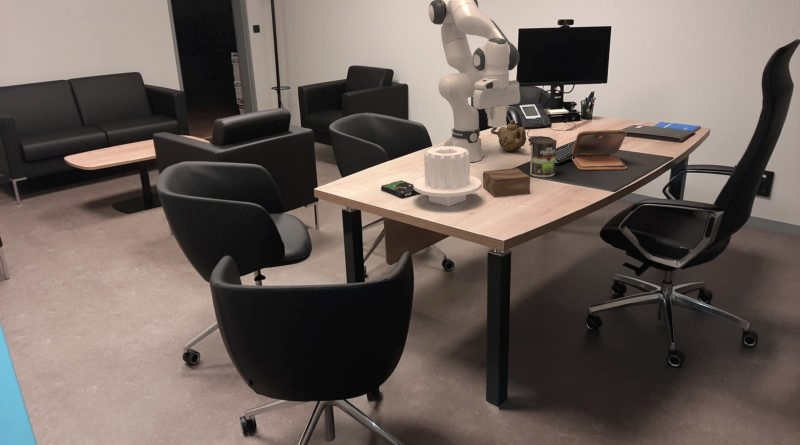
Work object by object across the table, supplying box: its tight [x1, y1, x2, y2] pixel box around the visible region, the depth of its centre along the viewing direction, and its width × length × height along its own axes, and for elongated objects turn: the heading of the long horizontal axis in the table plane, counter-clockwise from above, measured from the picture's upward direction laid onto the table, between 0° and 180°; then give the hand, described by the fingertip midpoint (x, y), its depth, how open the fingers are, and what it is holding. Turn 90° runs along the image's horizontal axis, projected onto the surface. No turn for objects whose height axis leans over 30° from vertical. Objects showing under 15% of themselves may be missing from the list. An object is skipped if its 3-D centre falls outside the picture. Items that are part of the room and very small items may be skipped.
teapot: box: [496, 119, 527, 153], centre depth 296 cm, size 21×12×15 cm, turn 25°
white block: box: [487, 105, 507, 128], centre depth 247 cm, size 5×5×8 cm
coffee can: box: [529, 137, 557, 178], centre depth 259 cm, size 10×10×14 cm
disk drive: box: [380, 180, 422, 200], centre depth 246 cm, size 10×3×15 cm
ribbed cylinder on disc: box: [413, 145, 482, 207], centre depth 230 cm, size 25×25×19 cm
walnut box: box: [482, 167, 531, 198], centre depth 241 cm, size 13×14×7 cm
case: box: [571, 129, 628, 171], centre depth 269 cm, size 20×21×16 cm
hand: (496, 117), depth 247 cm, fingers closed on white block, 5 cm apart
